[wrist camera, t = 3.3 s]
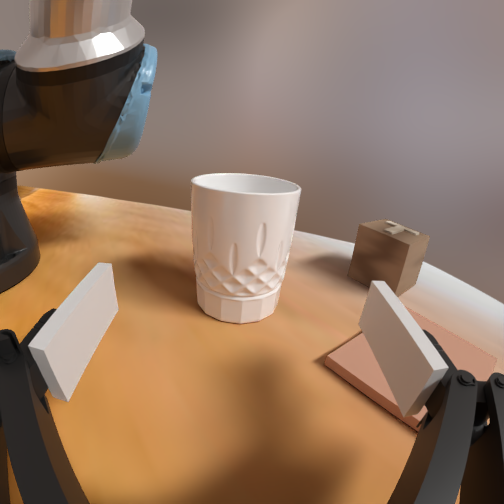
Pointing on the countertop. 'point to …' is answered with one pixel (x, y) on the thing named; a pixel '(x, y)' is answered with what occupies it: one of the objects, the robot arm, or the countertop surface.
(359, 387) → the coaster
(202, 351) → the countertop surface
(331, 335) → the countertop surface
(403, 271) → the letter block
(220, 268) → the white cup
